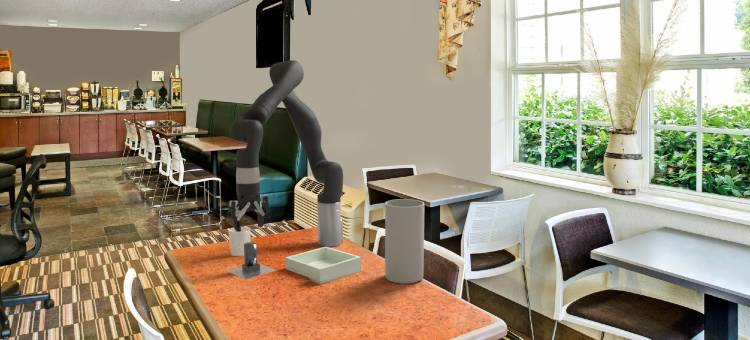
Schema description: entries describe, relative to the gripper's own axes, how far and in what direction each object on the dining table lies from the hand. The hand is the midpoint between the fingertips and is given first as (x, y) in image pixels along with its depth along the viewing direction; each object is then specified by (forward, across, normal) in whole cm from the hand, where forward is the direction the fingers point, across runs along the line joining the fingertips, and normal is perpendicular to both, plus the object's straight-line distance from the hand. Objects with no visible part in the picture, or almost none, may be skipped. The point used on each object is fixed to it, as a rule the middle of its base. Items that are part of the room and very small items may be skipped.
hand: (249, 229), depth 178 cm
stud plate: (+15, 0, 0) cm, 15 cm away
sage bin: (+15, -18, +16) cm, 29 cm away
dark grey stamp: (+14, 0, 0) cm, 14 cm away
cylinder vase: (+15, -32, +40) cm, 54 cm away
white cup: (+15, -8, -20) cm, 26 cm away
